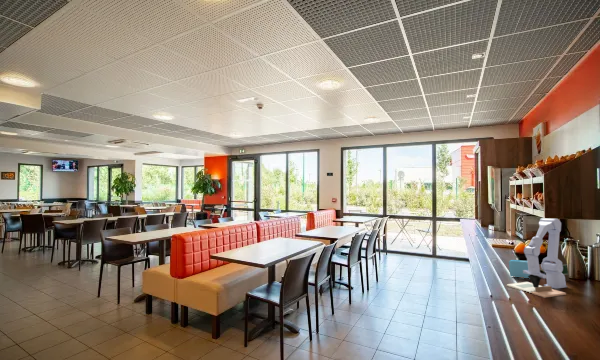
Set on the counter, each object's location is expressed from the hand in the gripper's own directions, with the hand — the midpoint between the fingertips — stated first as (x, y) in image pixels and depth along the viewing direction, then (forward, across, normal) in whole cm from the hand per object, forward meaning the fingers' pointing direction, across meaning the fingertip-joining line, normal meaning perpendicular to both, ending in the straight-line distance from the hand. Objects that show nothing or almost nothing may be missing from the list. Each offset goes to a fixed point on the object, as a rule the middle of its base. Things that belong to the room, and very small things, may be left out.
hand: (536, 287), depth 189 cm
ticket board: (+2, -5, 0) cm, 6 cm away
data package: (+2, -27, +16) cm, 32 cm away
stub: (+2, +8, 0) cm, 8 cm away
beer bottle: (+2, -12, +34) cm, 36 cm away
